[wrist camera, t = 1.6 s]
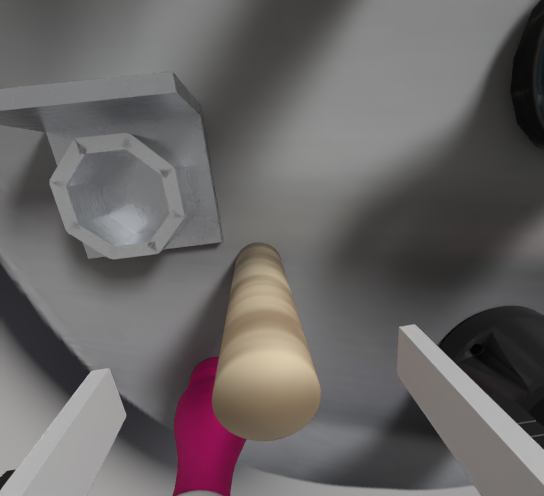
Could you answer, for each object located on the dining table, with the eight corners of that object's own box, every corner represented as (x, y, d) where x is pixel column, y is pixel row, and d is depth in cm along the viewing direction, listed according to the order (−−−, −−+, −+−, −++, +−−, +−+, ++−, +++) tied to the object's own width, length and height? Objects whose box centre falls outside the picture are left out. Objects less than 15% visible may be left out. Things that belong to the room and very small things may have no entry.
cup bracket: (223, 239, 25) (210, 270, 18) (94, 255, 25) (24, 294, 17) (200, 104, 22) (172, 71, 14) (50, 120, 21) (-61, 95, 14)
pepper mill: (231, 341, 29) (189, 691, 10) (263, 387, 31) (281, 750, 12) (173, 370, 29) (25, 756, 10) (209, 414, 31) (141, 801, 12)
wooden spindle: (283, 282, 27) (323, 432, 12) (239, 288, 27) (221, 448, 12) (279, 239, 26) (317, 346, 10) (232, 245, 26) (202, 363, 10)
